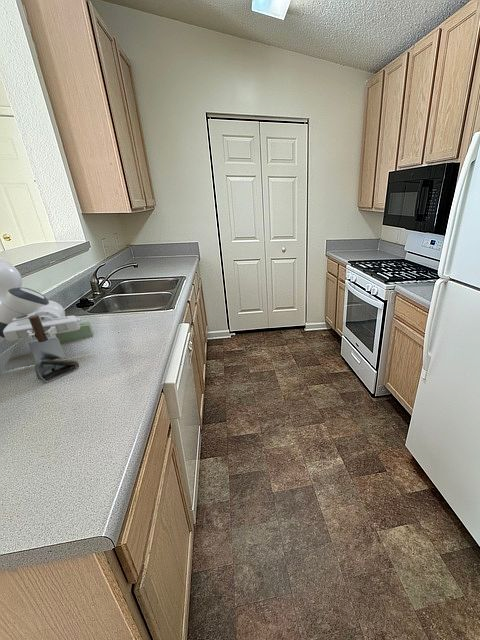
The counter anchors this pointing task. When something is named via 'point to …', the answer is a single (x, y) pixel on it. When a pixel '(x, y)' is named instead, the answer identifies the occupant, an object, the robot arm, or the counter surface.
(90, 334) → the stand
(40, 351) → the cake cutter
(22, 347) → the counter surface
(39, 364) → the dark grey triangular holder
